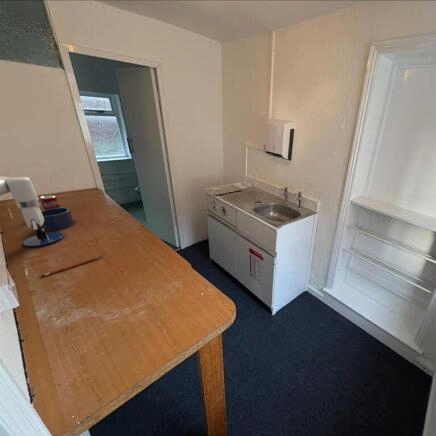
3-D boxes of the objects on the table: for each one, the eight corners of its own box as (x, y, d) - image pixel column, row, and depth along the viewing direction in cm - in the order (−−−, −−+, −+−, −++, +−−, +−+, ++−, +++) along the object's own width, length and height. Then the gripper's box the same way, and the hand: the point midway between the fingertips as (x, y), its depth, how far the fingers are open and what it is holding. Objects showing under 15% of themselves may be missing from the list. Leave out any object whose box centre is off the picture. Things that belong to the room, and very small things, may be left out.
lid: (21, 250, 109) (15, 238, 106) (26, 238, 119) (21, 226, 117) (63, 242, 118) (58, 230, 115) (65, 231, 128) (60, 220, 125)
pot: (40, 232, 125) (33, 218, 122) (43, 224, 135) (37, 210, 132) (73, 226, 133) (68, 213, 130) (74, 218, 143) (69, 206, 140)
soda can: (45, 214, 146) (37, 196, 141) (60, 211, 152) (54, 194, 147) (48, 217, 143) (41, 199, 138) (64, 214, 148) (57, 196, 143)
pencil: (43, 276, 94) (42, 274, 93) (100, 257, 107) (99, 256, 107) (43, 277, 93) (42, 275, 93) (100, 258, 106) (100, 256, 106)
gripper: (20, 199, 114) (35, 233, 121) (13, 210, 102) (30, 246, 110) (41, 197, 118) (55, 229, 126) (37, 206, 107) (52, 241, 114)
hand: (43, 236), depth 118 cm, fingers open, 3 cm apart
